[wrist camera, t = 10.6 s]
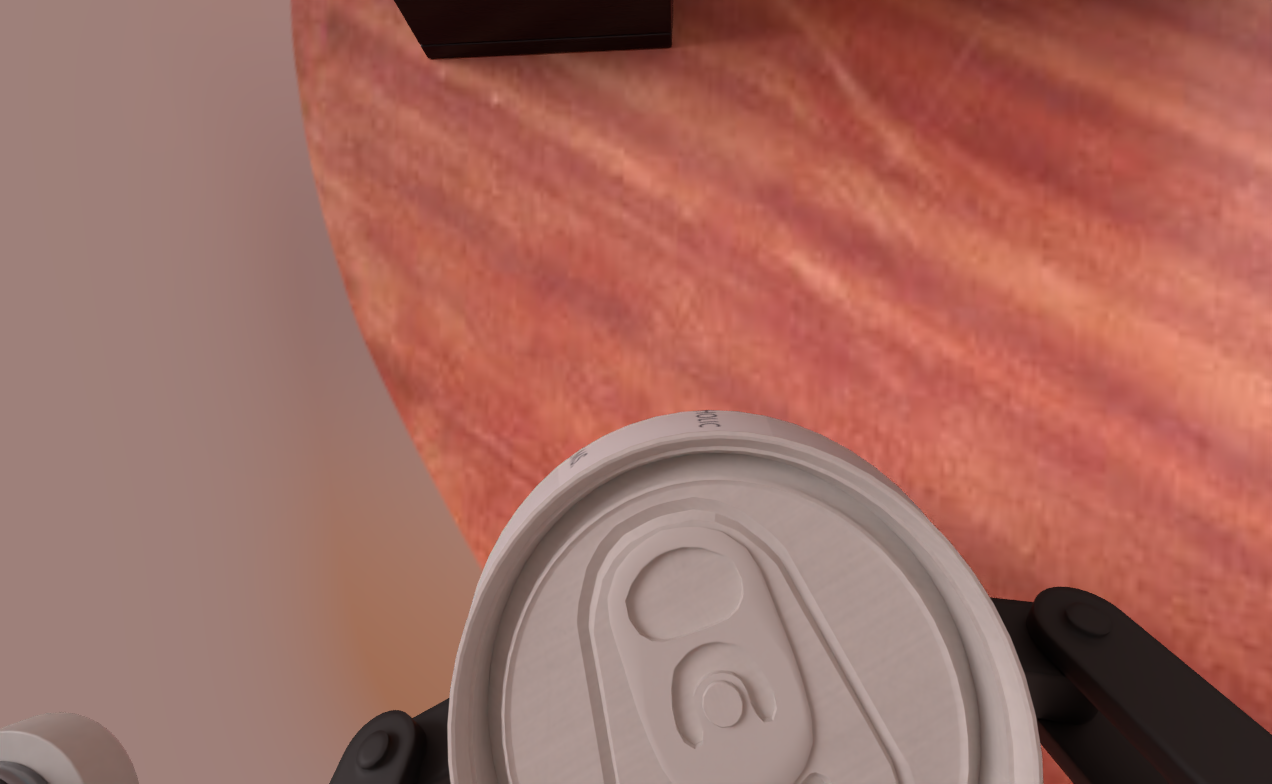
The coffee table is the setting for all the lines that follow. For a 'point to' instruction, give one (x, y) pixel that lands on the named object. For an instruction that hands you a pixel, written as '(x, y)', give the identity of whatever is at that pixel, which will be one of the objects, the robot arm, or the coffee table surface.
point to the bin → (536, 25)
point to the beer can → (732, 625)
